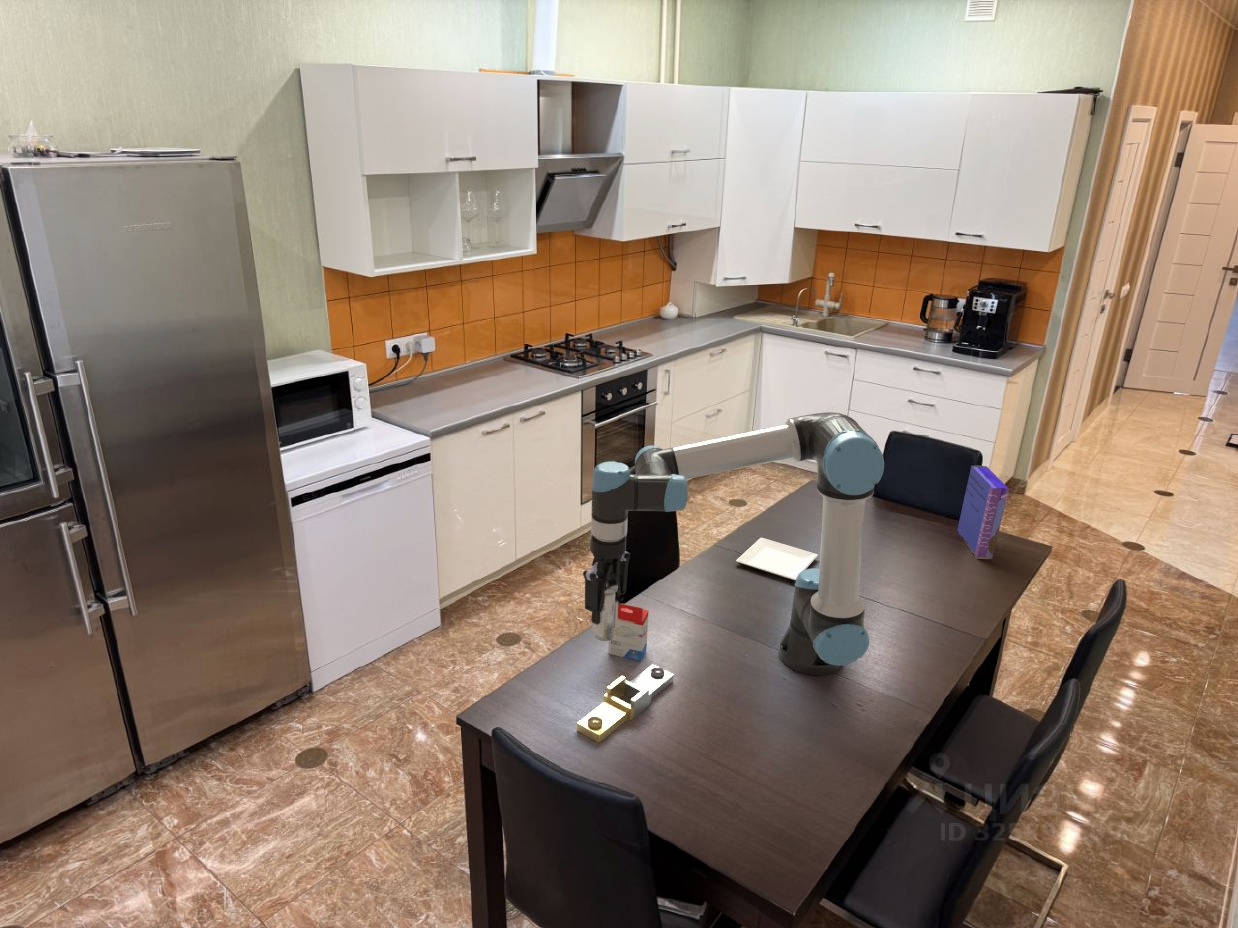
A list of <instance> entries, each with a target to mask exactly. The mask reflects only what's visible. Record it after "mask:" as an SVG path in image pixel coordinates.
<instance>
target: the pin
mask: <svg viewBox="0 0 1238 928" xmlns="http://www.w3.org/2000/svg"><path fill="white" fill-rule="evenodd" d="M617 590H618V584H615V583H613V582H610V581H609V582H607V585H606V591H605V593H604V595H605V597H604V603H603V610H605V621H604V636H603V637H600V636H598V635H596V634H594V635H595V636H594V637H595V639H596V640H598V641H601V642H609V640H611V639H612V638H613V632H614V611H615V593H616V592H617Z"/></svg>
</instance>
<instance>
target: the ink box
mask: <svg viewBox="0 0 1238 928" xmlns="http://www.w3.org/2000/svg"><path fill="white" fill-rule="evenodd" d="M648 626H649V609H643V608H642V607H639V606H633V605H630V604H626V603H625V604H624V603H621V602H619V609H618V618H617V627H616V628H614V632H613V638H612V639H611V640H609V641H608V647H607V648H608V652H607V653H608V654H609V655H613V656H617V657H621V658H624V659H629V660H634V661H638V662H641V661H642V660H643V658H644V656H645V654H646V652H647V649H648V628H649V627H648Z"/></svg>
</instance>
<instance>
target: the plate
mask: <svg viewBox="0 0 1238 928" xmlns="http://www.w3.org/2000/svg"><path fill="white" fill-rule="evenodd" d="M818 556H819V554H817V553H814V552H811V551H808V550H805V549H801V548H799V547H795V546H791V545H788V544H785V543H782V542H778V541H775V540H772V539H768V538H765V537H759V539H758V540H756V541H755V542H754V543H753V544H752V545H751V546H750V547H749V548H748V549H747V550H745V551H744V553H742V554H741V555H740V556H739V557H738V558H737V559H735V562H736V563H738V564H741V565H744V566H747V567H750V568H753V569H756V570H759V571H762V572H765V573H768V574H773V575H775V576H778V577H781V578H785V579H788V580H792V581H795V582H796V580H797V576H798V574H799V573H800V572H801V571H804V570H806V569H808V567H809V566H810V565H811V564H812V563H813V562H814V561H815V559H816V558H817V557H818Z"/></svg>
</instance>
